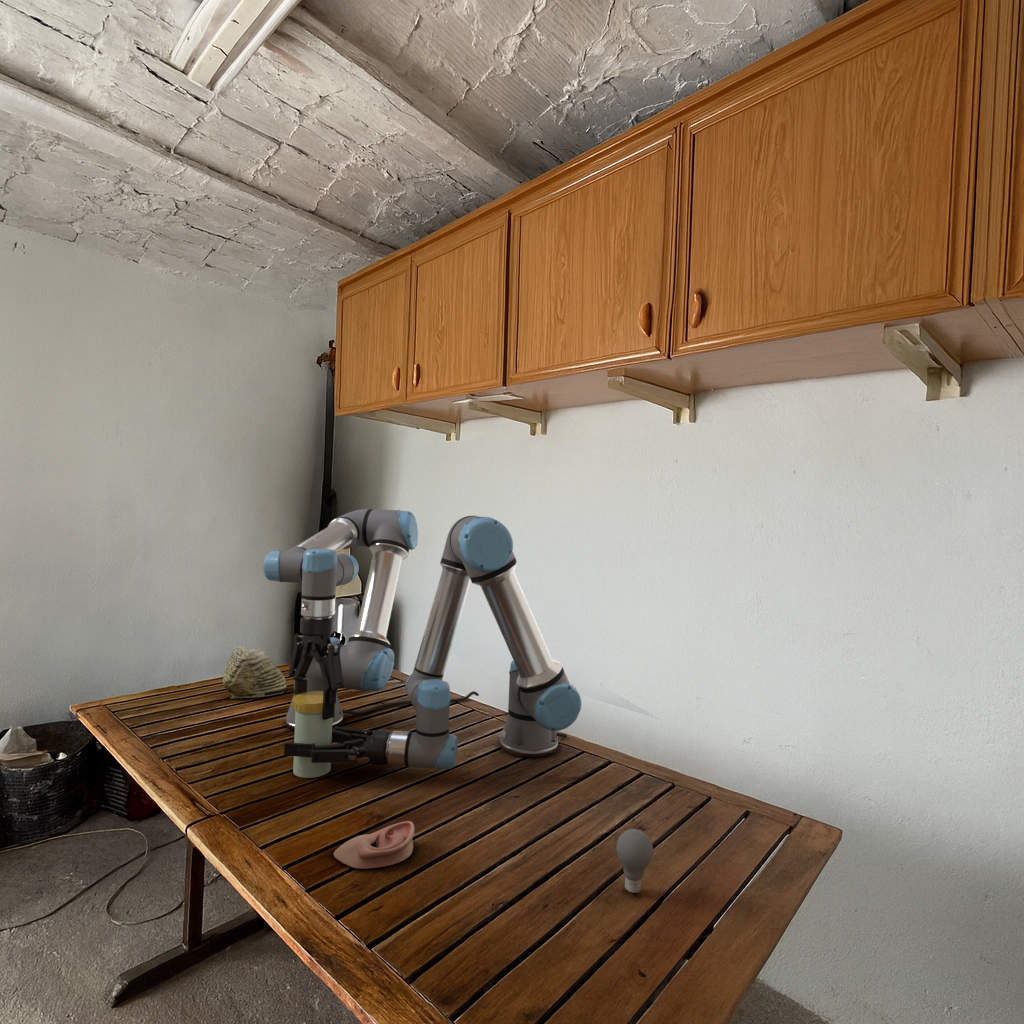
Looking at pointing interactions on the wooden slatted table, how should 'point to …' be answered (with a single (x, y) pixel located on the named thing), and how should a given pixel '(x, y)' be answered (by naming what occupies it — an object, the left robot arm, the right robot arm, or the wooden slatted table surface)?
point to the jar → (311, 742)
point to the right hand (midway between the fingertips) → (293, 741)
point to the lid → (309, 702)
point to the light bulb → (634, 857)
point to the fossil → (252, 674)
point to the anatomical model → (378, 847)
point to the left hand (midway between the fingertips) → (314, 713)
